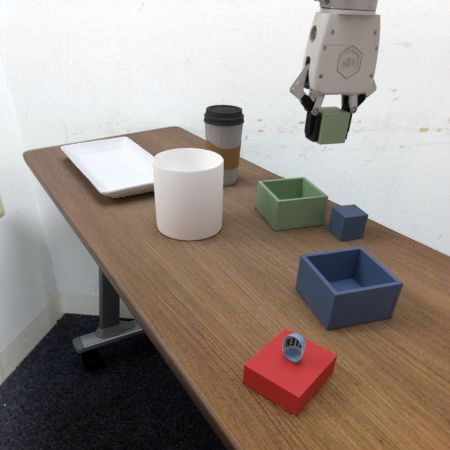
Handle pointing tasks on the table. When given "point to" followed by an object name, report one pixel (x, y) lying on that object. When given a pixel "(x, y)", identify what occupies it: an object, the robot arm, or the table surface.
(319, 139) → the sage block
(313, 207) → the sage bin
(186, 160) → the cup
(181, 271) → the table surface
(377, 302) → the slate bin
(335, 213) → the slate block
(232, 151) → the coffee cup
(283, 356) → the red rectangular block
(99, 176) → the tray
